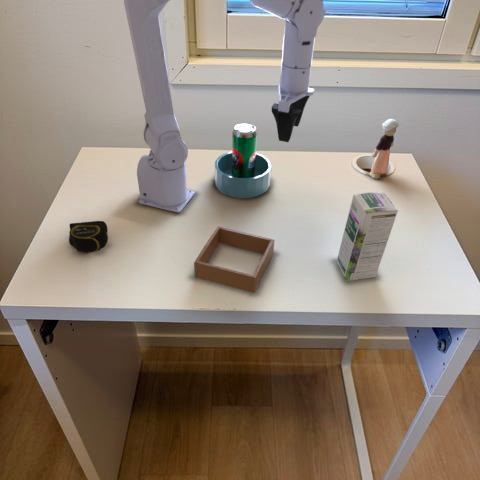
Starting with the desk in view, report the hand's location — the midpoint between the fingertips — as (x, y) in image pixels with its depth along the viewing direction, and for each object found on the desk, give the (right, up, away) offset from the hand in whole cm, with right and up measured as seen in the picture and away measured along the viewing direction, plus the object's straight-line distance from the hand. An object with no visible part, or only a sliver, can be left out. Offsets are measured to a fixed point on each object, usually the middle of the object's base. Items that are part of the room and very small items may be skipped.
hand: (288, 132), depth 99 cm
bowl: (-10, -9, +5) cm, 14 cm away
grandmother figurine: (+22, -6, +10) cm, 25 cm away
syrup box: (+11, -31, -13) cm, 35 cm away
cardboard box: (-11, -30, -14) cm, 35 cm away
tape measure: (-39, -25, -10) cm, 48 cm away
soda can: (-10, -9, +5) cm, 14 cm away
